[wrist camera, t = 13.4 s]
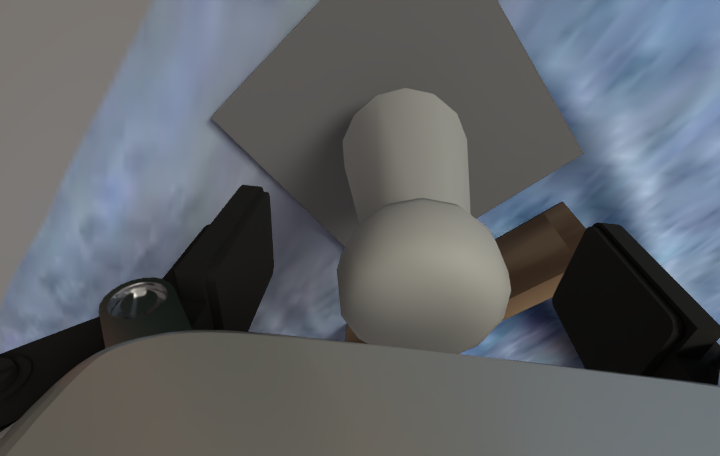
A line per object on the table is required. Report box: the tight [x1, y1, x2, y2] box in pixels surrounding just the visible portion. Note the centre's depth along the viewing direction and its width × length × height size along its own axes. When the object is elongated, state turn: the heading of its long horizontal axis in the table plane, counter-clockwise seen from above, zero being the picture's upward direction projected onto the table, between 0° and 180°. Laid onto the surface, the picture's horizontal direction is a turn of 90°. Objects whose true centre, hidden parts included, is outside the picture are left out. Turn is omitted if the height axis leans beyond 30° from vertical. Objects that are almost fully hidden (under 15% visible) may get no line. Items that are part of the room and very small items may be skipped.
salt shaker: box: [337, 88, 511, 354], centre depth 14 cm, size 6×6×13 cm
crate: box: [345, 202, 586, 344], centre depth 26 cm, size 17×17×5 cm
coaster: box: [211, 0, 584, 247], centre depth 20 cm, size 14×14×1 cm
